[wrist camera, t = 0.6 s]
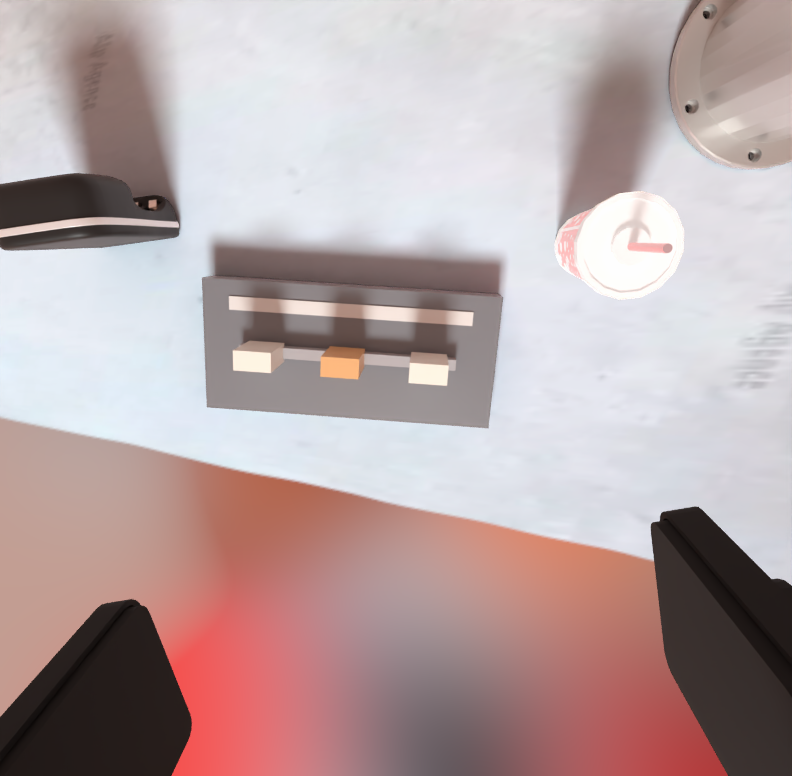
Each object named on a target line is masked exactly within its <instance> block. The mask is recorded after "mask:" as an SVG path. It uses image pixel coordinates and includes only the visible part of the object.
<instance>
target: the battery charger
mask: <svg viewBox="0 0 792 776" xmlns="http://www.w3.org/2000/svg"><path fill="white" fill-rule="evenodd" d="M178 228H179V224H178V222H177V220H176V216H175V212H174V210H173V208H172V206H171V204H170V203H169V201H168V200H167V199H165V198H164V197H162V196H145V197H138V198H133V197H132V194H131V191H130V189H129V187H128V186H127V184H126V183H124V182H123V181H121V180H118V179H116V178H113V177H109V176H102V175H94V174H82V173H74V174H64V175H57V176H50V177H44V178H37V179H30V180H24V181H18V182H11V183H5V184H0V247H1V248H2V249H4V250H48V249H74V248H104V247H111V246H118V245H125V244H133V243H140V242H147V241H154V240H161V239H168V238H175V237H177V236H178V235H179V229H178Z"/></svg>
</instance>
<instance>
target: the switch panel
mask: <svg viewBox="0 0 792 776" xmlns="http://www.w3.org/2000/svg"><path fill="white" fill-rule="evenodd" d="M202 290H203V316H204V343H205V369H206V395H207V407H211V408H225V409H238V410H251V411H265V412H278V413H291V414H305V415H318V416H332V417H345V418H358V419H372V420H385V421H399V422H412V423H425V424H439V425H452V426H466V427H479V428H488V426H489V417H490V408H491V399H492V390H493V382H494V373H495V364H496V355H497V346H498V337H499V329H500V320H501V311H502V302H503V297H502V296H501V295H499V294H492V293H476V292H461V291H446V290H431V289H416V288H400V287H385V286H370V285H355V284H339V283H324V282H309V281H294V280H278V279H263V278H248V277H233V276H217V275H214V276H208V277H203V278H202ZM248 341H263V342H277V343H284V346H294V347H308V348H322V349H328V348H329V347H330V346H335V347H349V348H363V349H365V352H380V353H394V354H408V355H411V352H420V353H435V354H447V357H451V358H456V369H455V371H449V370H448V380H447V386H442V385H429V384H415V383H408V382H409V368H407V367H393V366H379V365H365V364H364V369H363V371H362V373H361V375H360V377H359V379H345V378H331V377H320V369H321V361H309V360H295V359H284V362H283V363H282V364H281V365H280V366H278V367H277V368H276V369H275V370H274V371H273V372H272V373H262V372H248V371H234V370H233V350H234V349H236V348H238V347H239V344H241V343H246V342H248Z"/></svg>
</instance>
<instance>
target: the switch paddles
mask: <svg viewBox="0 0 792 776" xmlns="http://www.w3.org/2000/svg"><path fill="white" fill-rule="evenodd" d="M284 359H295V360H309V361H321V369H320V377H331V378H345V379H359V377H360V375H361V373H362V371H363V369H364V364H365V365H379V366H393V367H407V368H409V382H408V383H415V384H429V385H442V386H447V380H448V370H449V371H455V369H456V358H451V357H447V354H435V353H420V352H411V355H408V354H394V353H380V352H365V349H363V348H349V347H335V346H330V347H329V348H328V349H322V348H308V347H294V346H284V343H277V342H263V341H248V342H246V343H241V344H239V347H238V348H236V349H234V350H233V370H234V371H248V372H262V373H272V372H273V371H274V370H275V369H276V368H277V367H278V366H280V365H281V364H282V363H283V362H284Z"/></svg>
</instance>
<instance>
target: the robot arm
mask: <svg viewBox="0 0 792 776" xmlns="http://www.w3.org/2000/svg"><path fill="white" fill-rule="evenodd" d="M703 13H704V14H706V19H705V18H704V16H703ZM670 98H671V104H672V109H673V113H674V115H675V118H676V120H677V123H678V125H679V128H680V129H681V131H682V132H683V134H684V135H685V137H686V138H687V140H688V141H689V143H690V144H691V145H692V146H694V147H695V148H696V149H697V150H698V151H699V152H700V153H701V154H702V155H704V156H706V157H707V158H709V159H711V160H712V161H714V162H716V163H719V164H722V165H725V166H728V167H731V168H739V169H748V170H750V169H761V168H769V167H773V166H777V165H782V164H785V163H788V162H791V161H792V0H701V1H700V3H699V4H698V5H697V7H696V8H695V9H694V11H693V12H692V13H691V14H690V16H689V18H688V20H687V22H686V24H685V25H684V27H683V29H682V31H681V33H680V35H679V38H678V41H677V44H676V47H675V49H674V52H673V57H672V62H671V68H670ZM685 106H688V107H689V112H688V113H687V112H686V110H685ZM748 154H750V160H749V159H748ZM651 536H652V545H653V554H654V563H655V571H656V580H657V589H658V598H659V607H660V616H661V625H662V633H663V642H664V651H665V655H666V659H667V663H668V666H669V668H670V671H671V673H672V675H673V677H674V679H675V681H676V683H677V684H678V686H679V688H680V690H681V692H682V693H683V695H684V697H685V699H686V701H687V702H688V704H689V706H690V708H691V710H692V711H693V713H694V715H695V717H696V719H697V720H698V722H699V724H700V726H701V728H702V729H703V731H704V733H705V735H706V737H707V738H708V740H709V742H710V744H711V746H712V747H713V749H714V751H715V753H716V755H717V756H718V758H719V760H720V762H721V764H722V765H723V767H724V769H725V771H726V772H727V774H728V776H792V586H791V585H790V584H789V583H787V582H786V581H784V580H781V579H771V578H770V577H769V576H768V575H767V574H766V573H765V572H764V571H763V570H762V569H761V568H760V567H759V566H758V565H757V564H756V563H755V562H754V561H753V560H752V559H751V558H750V557H749V556H748V555H747V554H746V553H745V552H744V551H743V550H742V549H741V548H740V547H739V546H738V545H737V544H736V543H735V542H734V541H733V540H732V539H731V538H730V537H729V536H728V535H727V534H726V533H725V532H724V531H723V530H722V529H721V528H720V527H719V526H718V525H717V524H716V523H715V522H714V521H713V520H712V519H711V518H710V517H709V516H708V515H707V514H706V513H705V512H704V511H703V510H702V509H700V508H699V507H690V508H684V509H678V510H672V511H666V512H662V513H661V516H660V521H659V522H653V523H652V524H651ZM191 726H192V722H191V716H190V713H189V710H188V708H187V705H186V703H185V700H184V698H183V695H182V693H181V690H180V688H179V685H178V683H177V680H176V678H175V675H174V673H173V670H172V668H171V665H170V663H169V660H168V658H167V655H166V653H165V650H164V648H163V645H162V643H161V640H160V638H159V635H158V633H157V630H156V628H155V625H154V623H153V620H152V618H151V615H150V613H149V611H148V609H147V608H146V607H145V606H141V605H140V603H139V602H137V601H136V600H132V599H130V600H124V601H118V602H111V603H106V604H102V605H101V606H99V607H98V608H97V609H96V610H95V611H94V612H93V613H92V615H91V616H90V617H89V618H88V619H87V620H86V621H85V622H84V624H83V625H82V626H81V627H80V628H79V629H78V630H77V631H76V633H75V634H74V635H73V636H72V637H71V638H70V639H69V641H68V642H67V643H66V644H65V645H64V646H63V647H62V648H61V650H60V651H59V652H58V653H57V654H56V655H55V656H54V657H53V658H52V660H51V661H50V662H49V663H48V664H47V665H46V666H45V667H44V669H43V670H42V671H41V672H40V673H39V674H38V675H37V677H36V678H35V679H34V680H33V681H32V682H31V683H30V684H29V685H28V687H27V688H26V689H25V690H24V691H23V692H22V693H21V694H20V695H19V697H18V698H17V699H16V700H15V701H14V702H13V703H12V704H11V706H10V707H9V708H8V709H7V710H6V711H5V713H3V715H2V716H1V717H0V776H171V775H172V773H173V771H174V769H175V767H176V765H177V763H178V761H179V758H180V756H181V754H182V752H183V750H184V748H185V746H186V744H187V742H188V739H189V737H190V733H191Z"/></svg>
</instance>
